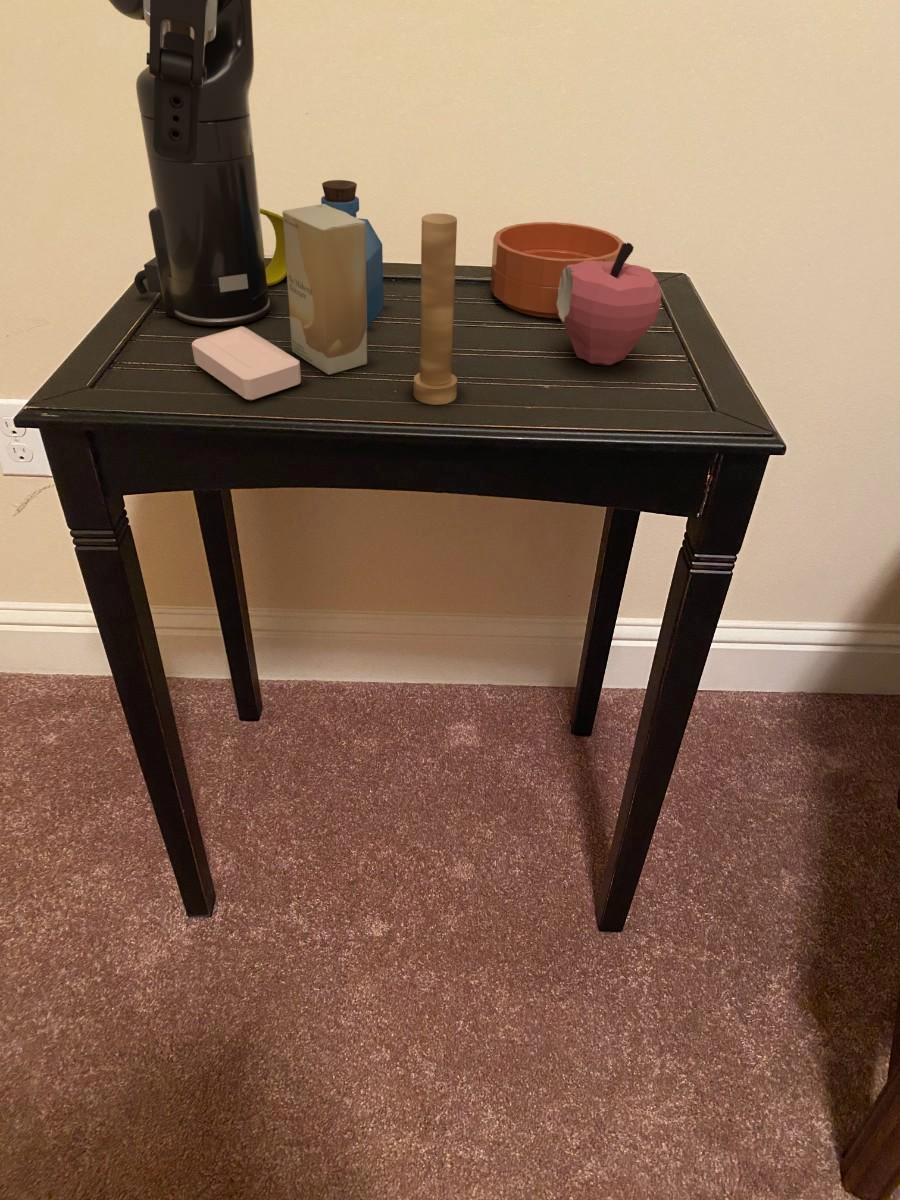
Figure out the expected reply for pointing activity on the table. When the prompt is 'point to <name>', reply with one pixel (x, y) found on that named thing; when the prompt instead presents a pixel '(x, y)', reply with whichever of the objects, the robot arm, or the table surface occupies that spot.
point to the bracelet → (276, 250)
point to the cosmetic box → (326, 286)
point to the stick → (437, 310)
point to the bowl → (543, 261)
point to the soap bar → (246, 362)
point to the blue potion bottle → (344, 199)
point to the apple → (607, 306)
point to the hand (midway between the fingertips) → (178, 127)
